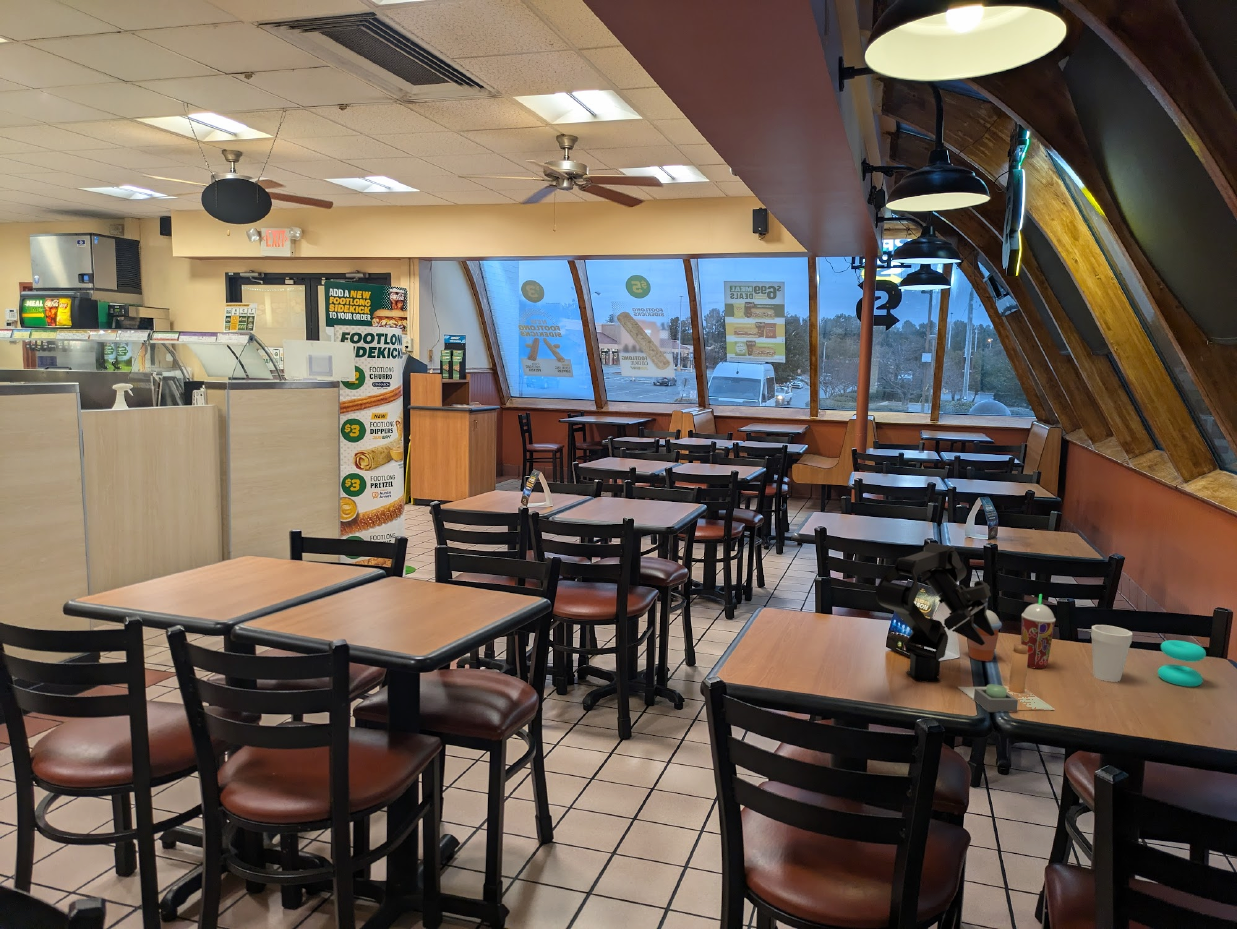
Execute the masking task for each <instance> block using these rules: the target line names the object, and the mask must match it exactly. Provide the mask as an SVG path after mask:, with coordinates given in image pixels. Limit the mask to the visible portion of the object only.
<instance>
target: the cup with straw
mask: <svg viewBox="0 0 1237 929" xmlns="http://www.w3.org/2000/svg"><path fill="white" fill-rule="evenodd" d="M986 600H987V601H988V600H989V598H987V599H986ZM988 602H989V601H988ZM988 602H987V603H985V604H984V605H983V607H984V606H985V605H988V604H989V603H988ZM986 615H987V617H988V619H989V622H990V624H991V626H992V628H993V630H994V633H995V634H994V635H993V636H990V635H989V634H987V633H986V632H984V631H983V630H982V629H980V628H979V627H977V626H976V625H975V624H974V626H975V627H976V629H977V631H978V632H979V634H980V635H981V637H982V638H983V640H984V642H985V644H984V645H982V646H981V645H979V644H977V643H976V642H974V641H972V640H970V639H968V638H967V644H968V656H969V657H970V658H971V659H973V660H976V661H981V662H991V661H993V658H994V654H995V650H996V649H997V643H998V638H999V630H1000V629H1001V628H1002V626H1003V624H1002V622H1001V621H1000V619H999V617H998V616H997V614H996V613H995V612H993V611H992V610H989V609H987V610H986Z"/></svg>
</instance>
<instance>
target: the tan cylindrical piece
mask: <svg viewBox="0 0 1237 929" xmlns="http://www.w3.org/2000/svg"><path fill="white" fill-rule="evenodd" d="M1027 662H1028V647H1027V646H1026V645H1022V644H1021V643H1015V644H1014V645H1013V649H1012V652H1011V662H1010V663H1011V664H1010V673H1009V684H1008V686H1009V690H1010V691H1012V692H1015V693H1024V692H1025V689H1026V682H1027V679H1026V678H1027V670H1028V667H1027Z"/></svg>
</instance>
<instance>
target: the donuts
mask: <svg viewBox="0 0 1237 929" xmlns="http://www.w3.org/2000/svg"><path fill="white" fill-rule="evenodd" d="M1160 650H1161V651H1162V653H1164V654H1165V655H1166V656H1168V657H1169V658H1171V659H1174V660H1178V661H1182V662H1183V661H1184V662H1191V663H1192V662H1194V663H1195V662H1199V661H1202V660H1203V659H1205V657H1206V656H1207V653H1206V652H1207V651H1206V650H1205V648H1203V647H1202V646H1200V645H1198V644H1196V643H1193V642H1189V641H1185V640H1177V639H1172V640H1171V639H1169V640H1164V641H1163V642H1162V643H1160ZM1157 675H1158V677H1160V679H1162V680H1163V681H1165V682H1166V683H1170V684H1173V685H1175V686H1181V687H1187V688H1188V687H1191V688H1192V687H1199V686H1200V685H1202V684H1203V681H1204V679H1203V676H1202V674H1201V673H1200V672H1198V670H1195V669H1194V668H1192V667H1188V666H1185V665H1179V664H1165V665H1162V666H1160V667H1159V668H1158V669H1157Z"/></svg>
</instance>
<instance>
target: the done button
mask: <svg viewBox="0 0 1237 929" xmlns="http://www.w3.org/2000/svg"><path fill="white" fill-rule="evenodd" d="M1003 686H1004V685H1000V684H995V683H989V684H987V685H986V687H987V688H986V694H987V695H988V696H989V697H991V698H1006V693H1007V689H1006V688H1005V687H1003Z"/></svg>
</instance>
